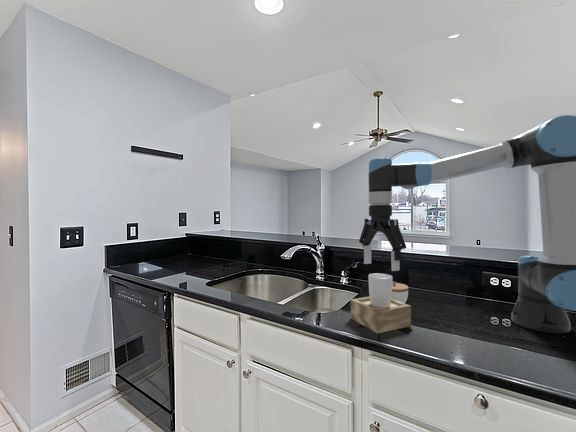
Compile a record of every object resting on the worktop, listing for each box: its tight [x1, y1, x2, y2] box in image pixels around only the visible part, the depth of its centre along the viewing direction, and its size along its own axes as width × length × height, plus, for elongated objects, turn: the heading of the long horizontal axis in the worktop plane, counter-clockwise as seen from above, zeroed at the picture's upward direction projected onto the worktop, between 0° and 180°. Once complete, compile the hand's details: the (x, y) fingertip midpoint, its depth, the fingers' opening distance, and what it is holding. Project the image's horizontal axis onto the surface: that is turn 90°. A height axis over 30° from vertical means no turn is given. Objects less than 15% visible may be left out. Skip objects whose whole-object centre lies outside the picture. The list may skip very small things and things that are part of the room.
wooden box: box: [350, 296, 412, 334], centre depth 102 cm, size 14×14×7 cm
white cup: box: [368, 272, 393, 308], centre depth 102 cm, size 8×8×10 cm
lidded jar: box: [391, 280, 409, 304], centre depth 120 cm, size 11×11×9 cm
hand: (380, 266), depth 102 cm, fingers open, 13 cm apart
